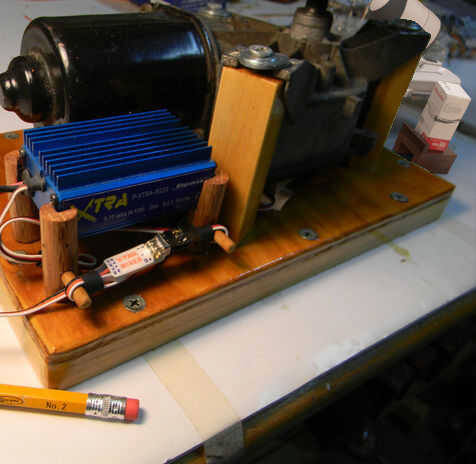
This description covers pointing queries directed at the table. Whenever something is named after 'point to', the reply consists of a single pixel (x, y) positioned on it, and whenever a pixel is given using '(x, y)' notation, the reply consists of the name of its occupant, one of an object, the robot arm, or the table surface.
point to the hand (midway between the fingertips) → (429, 95)
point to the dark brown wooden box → (423, 151)
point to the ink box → (442, 114)
